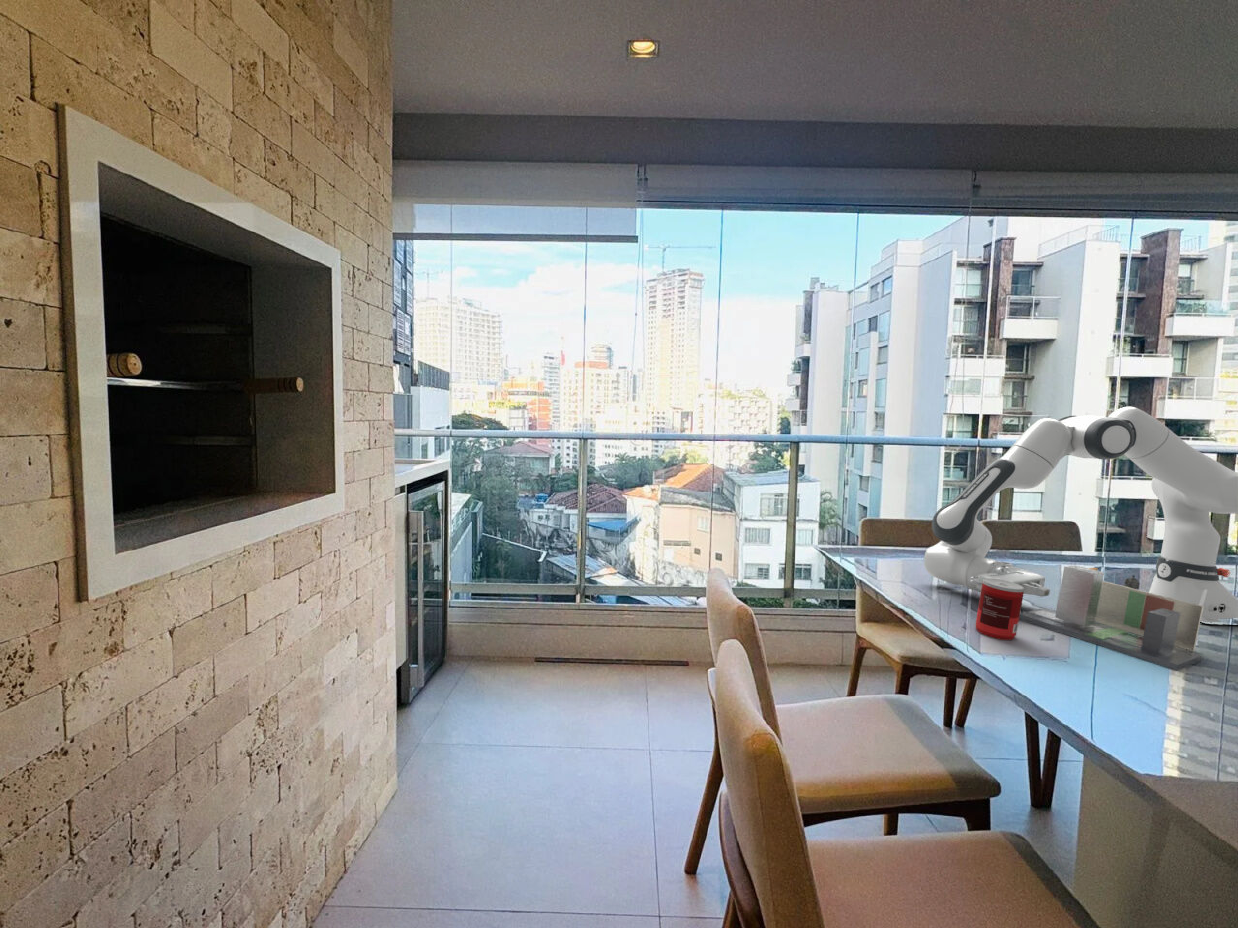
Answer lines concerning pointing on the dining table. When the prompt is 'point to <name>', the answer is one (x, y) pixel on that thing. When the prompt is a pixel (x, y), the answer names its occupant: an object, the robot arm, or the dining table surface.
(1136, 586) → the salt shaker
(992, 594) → the canned food
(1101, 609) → the base
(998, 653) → the dining table surface
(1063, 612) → the brushed steel slab
